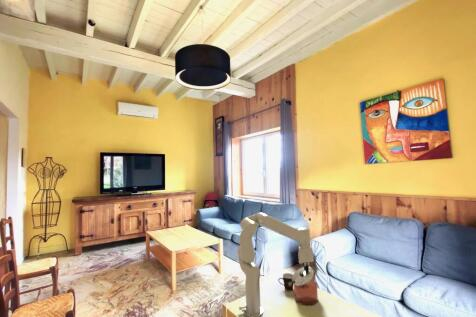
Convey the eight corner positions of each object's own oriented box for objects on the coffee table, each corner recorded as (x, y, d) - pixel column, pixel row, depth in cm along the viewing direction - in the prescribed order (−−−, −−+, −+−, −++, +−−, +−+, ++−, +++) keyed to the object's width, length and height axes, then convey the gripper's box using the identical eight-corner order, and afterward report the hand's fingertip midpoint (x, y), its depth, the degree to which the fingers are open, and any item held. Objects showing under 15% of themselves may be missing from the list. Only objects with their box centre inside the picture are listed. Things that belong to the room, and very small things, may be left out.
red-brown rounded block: (300, 306, 161) (299, 290, 161) (291, 294, 177) (290, 279, 177) (322, 303, 163) (321, 287, 164) (311, 291, 179) (310, 277, 180)
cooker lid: (298, 290, 161) (296, 286, 161) (289, 278, 178) (287, 275, 177) (318, 274, 163) (315, 271, 163) (307, 264, 180) (305, 261, 180)
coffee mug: (295, 286, 188) (294, 273, 188) (293, 292, 180) (293, 278, 180) (280, 284, 192) (279, 272, 192) (278, 290, 184) (277, 277, 184)
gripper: (297, 248, 167) (298, 274, 166) (317, 245, 169) (318, 272, 168) (293, 244, 174) (294, 270, 174) (312, 242, 176) (313, 267, 176)
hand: (306, 270), depth 171 cm, fingers closed
